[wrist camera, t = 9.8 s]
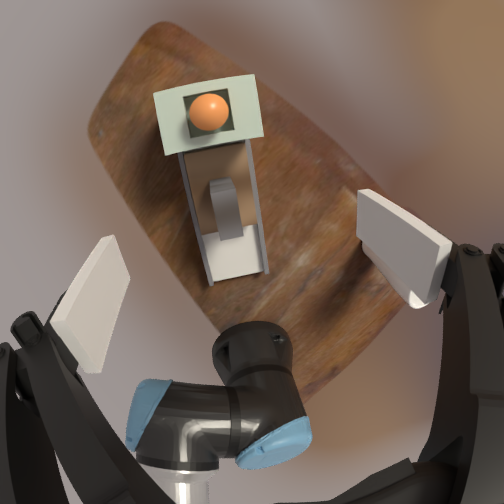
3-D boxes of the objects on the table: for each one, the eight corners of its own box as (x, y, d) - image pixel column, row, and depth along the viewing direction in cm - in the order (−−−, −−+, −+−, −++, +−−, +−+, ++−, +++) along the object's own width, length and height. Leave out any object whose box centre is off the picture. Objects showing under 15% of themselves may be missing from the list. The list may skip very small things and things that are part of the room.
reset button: (229, 126, 23) (231, 126, 21) (194, 133, 23) (192, 134, 21) (223, 93, 21) (225, 90, 19) (188, 100, 21) (186, 97, 19)
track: (266, 265, 42) (269, 273, 40) (208, 277, 42) (209, 286, 40) (246, 131, 33) (249, 132, 31) (177, 145, 32) (175, 147, 30)
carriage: (253, 215, 37) (267, 244, 29) (201, 226, 36) (201, 258, 28) (241, 141, 32) (254, 148, 24) (185, 152, 31) (178, 163, 23)
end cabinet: (246, 131, 33) (263, 136, 23) (177, 145, 32) (165, 155, 23) (239, 88, 30) (254, 74, 21) (169, 101, 30) (153, 93, 20)
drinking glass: (390, 250, 45) (441, 296, 32) (359, 264, 46) (407, 317, 32) (387, 217, 42) (446, 258, 29) (354, 231, 42) (408, 280, 29)
